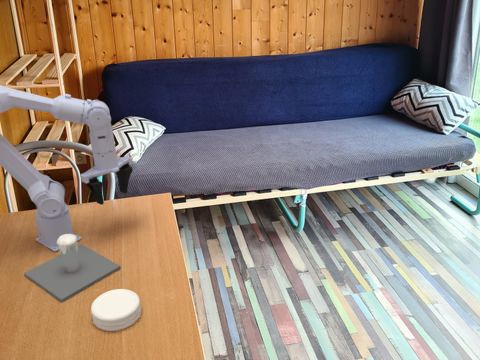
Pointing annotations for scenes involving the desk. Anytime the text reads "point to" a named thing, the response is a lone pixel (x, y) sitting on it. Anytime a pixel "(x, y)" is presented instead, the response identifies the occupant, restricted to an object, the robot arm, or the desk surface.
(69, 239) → the milkshake
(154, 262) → the desk surface
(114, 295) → the white round tin
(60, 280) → the mat
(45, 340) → the desk surface
